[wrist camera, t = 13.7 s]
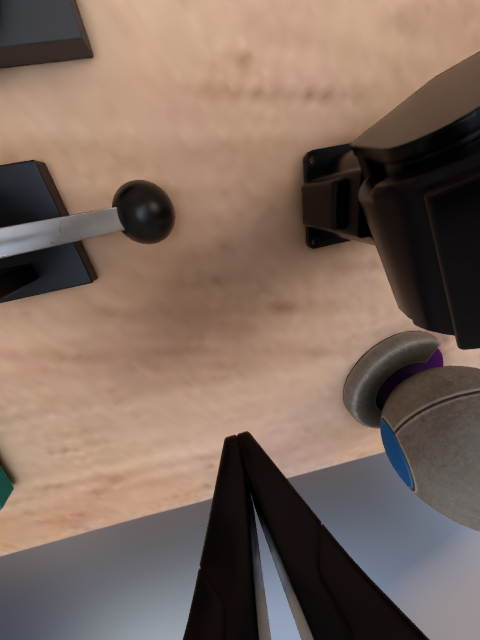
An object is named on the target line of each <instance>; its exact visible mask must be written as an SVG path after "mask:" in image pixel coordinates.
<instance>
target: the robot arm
mask: <svg viewBox="0 0 480 640" xmlns="http://www.w3.org/2000/svg"><path fill="white" fill-rule="evenodd" d="M310 156H313V158H314V160H313V163H311V162H310V160H309V159H310ZM303 164H304V185H303V187H302V203H303V223H304V225H306V243H307V246H308V247H310V248H312V249H315V248H320V247H324V246H328V245H333V244H337V243H341V242H346V241H350V240H353V241H357V242H362V243H366V244H370V245H375V246H376V248H377V250H378V253H379V256H380V259H381V261H382V264H383V267H384V269H385V272H386V275H387V278H388V280H389V283H390V286H391V289H392V291H393V294H394V297H395V299H396V302H397V305H398V308H399V309H400V310H401V311H402V312H403V313H404V314H405V315H406V316H407V317H409V318H410V319H412V321H413V323H414V324H415V325H416V326H419V327H421V328H423V329H426V330H428V331H433V332H437V333H442V334H447V335H455V337H456V342H457V346H458V348H460V349H463V350H467V349H477V348H480V51H479V52H477V53H476V54H474V55H472V56H470V57H468V58H467V59H465V60H463V61H461V62H460V63H458V64H456V65H454V66H453V67H451V68H449V69H447V70H446V71H444V72H442V73H440V74H439V75H437V76H435V77H434V78H433V79H431V80H430V81H429V82H427V83H426V84H425V85H424V86H422V87H421V88H420V89H419V90H417V91H416V92H415V93H413V94H412V95H411V96H410V97H408V98H407V99H406V100H405V101H403V102H402V103H401V104H400V105H398V106H397V107H396V108H395V109H393V110H392V111H391V112H390V113H388V114H387V115H386V116H384V117H383V118H382V119H381V120H379V121H378V122H377V123H376V124H374V125H373V126H372V127H371V128H369V129H368V130H367V131H366V132H364V133H363V134H362V135H361V136H359V137H358V138H357V139H355V140H354V141H353V142H352V143H350V144H344V145H338V146H333V147H327V148H322V149H316V150H312V151H309V152H307V153H306V154H305V156H304V160H303ZM313 239H315V243H314V244H313V245H312V240H313ZM238 442H239V443H238ZM239 446H240V447H239ZM245 471H246V472H245ZM246 475H247V476H246ZM251 496H252V497H251ZM252 500H253V502H252ZM253 503H254V506H255V509H256V512H257V515H258V518H259V521H260V524H261V527H262V529H263V532H264V535H265V538H266V541H267V543H268V546H269V549H270V552H271V555H272V558H273V560H274V563H275V566H276V569H277V572H278V575H279V577H280V580H281V583H282V586H283V589H284V592H285V594H286V597H287V600H288V603H289V605H290V608H291V611H292V614H293V617H294V619H295V623H296V625H297V628H298V631H299V634H300V637H301V639H302V640H429V639H428V638H427V637H426V636H425V635H424V634H423V632H422V631H421V630H420V629H419V628H418V627H417V626H416V625H415V624H414V623H413V622H412V621H411V620H410V619H409V618H408V617H407V616H406V615H405V614H404V613H403V612H402V611H401V610H400V609H399V608H398V607H397V606H396V605H395V604H394V603H393V602H392V601H391V600H390V598H389V597H388V596H387V595H386V594H385V593H383V591H382V590H381V589H380V588H379V587H378V586H377V585H376V584H375V583H374V582H373V581H372V580H371V579H370V578H369V577H368V576H367V575H366V573H365V572H364V571H363V570H362V569H361V568H360V567H359V566H358V565H357V564H356V563H355V562H354V561H353V559H352V558H351V557H350V556H349V555H348V554H347V552H346V551H345V550H344V549H343V548H342V546H341V545H340V544H339V543H338V542H337V541H336V539H335V538H334V537H333V536H332V534H331V533H330V532H329V531H328V530H327V528H326V527H325V526H324V525H323V524H322V525H321V521H320V520H319V519H318V517H317V516H316V515H315V514H314V512H313V511H312V510H311V509H310V507H309V506H308V505H307V504H306V502H305V501H304V500H303V499H302V497H301V496H300V495H299V494H298V492H297V491H296V490H295V489H294V487H293V486H292V485H291V484H290V482H289V481H288V480H287V479H286V477H285V476H284V475H283V474H282V472H281V471H280V470H279V469H278V467H277V466H276V465H275V464H274V462H273V461H272V460H271V459H270V457H269V456H268V455H267V454H266V453H265V451H264V450H263V449H262V448H261V446H260V445H259V444H258V443H257V441H256V440H255V439H254V438H253V436H252V435H251V434H250V433H249V432H248V431H246V432H242V433H239V434H238V435H237V436H236V435H232V436H229V437H226V438H225V440H224V445H223V450H222V455H221V460H220V465H219V470H218V475H217V480H216V485H215V490H214V495H213V501H212V506H211V511H210V516H209V521H208V526H207V531H206V536H205V542H204V546H203V551H202V556H201V561H200V567H201V568H200V569H199V571H198V576H197V581H196V586H195V591H194V595H193V600H192V604H191V609H190V613H189V618H188V622H187V626H186V630H185V634H184V638H183V640H271V635H270V627H269V619H268V612H267V604H266V597H265V589H264V582H263V575H262V567H261V559H260V552H259V544H258V537H257V529H256V522H255V514H254V508H253Z"/></svg>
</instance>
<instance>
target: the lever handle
mask: <svg viewBox="0 0 480 640" xmlns="http://www.w3.org/2000/svg"><path fill="white" fill-rule="evenodd" d="M174 223H175V210H174V206H173V204H172V201H171V200H170V198H169V196H168V195H167V194H166V193H165V191H164V190H162V189H161V188H160V187H159V186H157V185H156V184H154V183H151V182H149V181H144V180H134V181H130V182H127V183H125V184H124V185H122V186H121V187H120V188H119V189H118V190H117V192H116V193H115V195H114V198H113V202H112V208H108V209H102V210H97V211H91V212H86V213H80V214H74V215H69V216H63V217H58V218H52V219H47V220H41V221H35V222H30V223H24V224H19V225H13V226H8V227H2V228H0V258H5V257H9V256H13V255H18V254H22V253H27V252H31V251H35V250H40V249H44V248H49V247H53V246H57V245H62V244H66V243H70V242H75V241H79V240H84V239H88V238H92V237H97V236H101V235H106V234H110V233H114V232H119V231H122V232H123V233H124V234H125V235H126V236H127V237H128V238H130V239H131V240H133V241H135V242H138V243H142V244H154V243H158V242H160V241H162V240H164V239H165V238H166V237H167V236H168V235H169V234H170V233H171V231H172V229H173V227H174Z"/></svg>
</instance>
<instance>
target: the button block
mask: <svg viewBox="0 0 480 640" xmlns="http://www.w3.org/2000/svg"><path fill="white" fill-rule="evenodd" d="M86 57H93V52H92V49H91V46H90V43H89V40H88V37H87V34H86V31H85V28H84V25H83V22H82V19H81V15H80V12H79V9H78V6H77V3H76V0H0V68H2V67H11V66H19V65H27V64H36V63H44V62H53V61H61V60H69V59H78V58H86Z"/></svg>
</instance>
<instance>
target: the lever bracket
mask: <svg viewBox="0 0 480 640" xmlns="http://www.w3.org/2000/svg"><path fill="white" fill-rule="evenodd" d="M63 216H69V215H68V213H67V210H66V208H65V206H64V204H63V202H62V200H61V198H60V195H59V193H58V191H57V189H56V187H55V185H54V182H53V180H52V178H51V176H50V174H49V172H48V170H47V167H46V165H45V164H44V163H42V162H39V161H35V160H30V161H23V162H17V163H11V164H5V165H0V228H2V227H8V226H13V225H19V224H24V223H30V222H35V221H41V220H47V219H52V218H58V217H63ZM96 279H97V275H96V273H95V271H94V269H93V266H92V264H91V262H90V260H89V258H88V256H87V254H86V251H85V249H84V247H83V245H82V243H81V241H80V240H79V241H75V242H70V243H66V244H62V245H57V246H53V247H49V248H44V249H40V250H35V251H31V252H27V253H22V254H18V255H13V256H9V257H5V258H0V303H3V302H8V301H12V300H17V299H21V298H26V297H30V296H35V295H39V294H44V293H48V292H53V291H57V290H62V289H66V288H71V287H75V286H80V285H85V284H89V283H92V282H94V281H95V280H96Z"/></svg>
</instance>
